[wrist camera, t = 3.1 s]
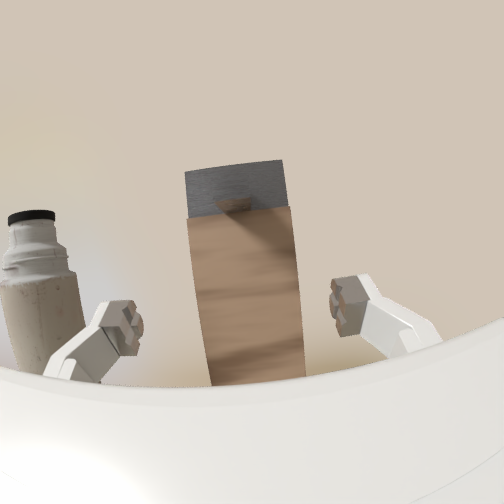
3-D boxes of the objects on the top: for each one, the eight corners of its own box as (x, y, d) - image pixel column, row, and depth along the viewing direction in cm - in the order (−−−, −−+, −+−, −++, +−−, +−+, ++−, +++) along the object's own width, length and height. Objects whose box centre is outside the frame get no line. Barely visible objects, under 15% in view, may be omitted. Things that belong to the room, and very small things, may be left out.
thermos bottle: (98, 447, 24) (40, 222, 23) (149, 463, 23) (87, 207, 22) (63, 480, 16) (-19, 220, 15) (116, 506, 15) (19, 200, 14)
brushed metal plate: (305, 191, 18) (294, 124, 18) (160, 209, 18) (156, 143, 18) (284, 211, 31) (278, 169, 31) (196, 222, 31) (192, 180, 31)
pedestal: (308, 433, 27) (290, 206, 26) (224, 441, 27) (186, 218, 26) (300, 407, 33) (283, 212, 32) (227, 415, 33) (198, 222, 32)
